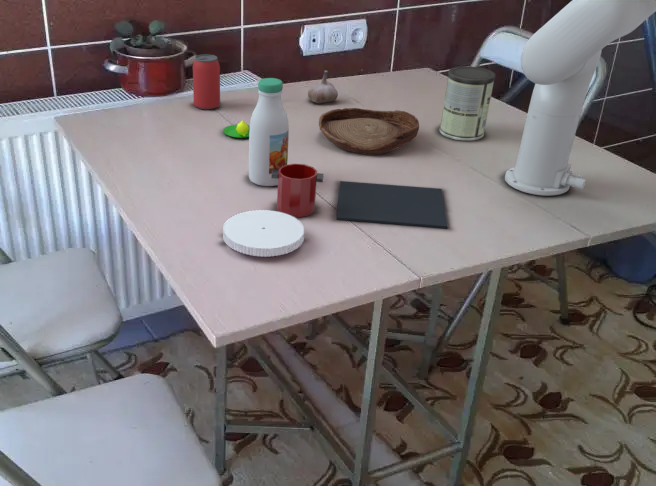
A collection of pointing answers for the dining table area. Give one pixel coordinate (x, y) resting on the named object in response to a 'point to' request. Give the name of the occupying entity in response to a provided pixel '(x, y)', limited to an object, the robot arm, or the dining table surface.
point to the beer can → (206, 81)
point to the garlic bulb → (323, 91)
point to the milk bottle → (268, 134)
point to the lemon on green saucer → (238, 130)
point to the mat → (391, 204)
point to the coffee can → (466, 102)
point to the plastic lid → (263, 233)
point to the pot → (296, 189)
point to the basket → (368, 129)
